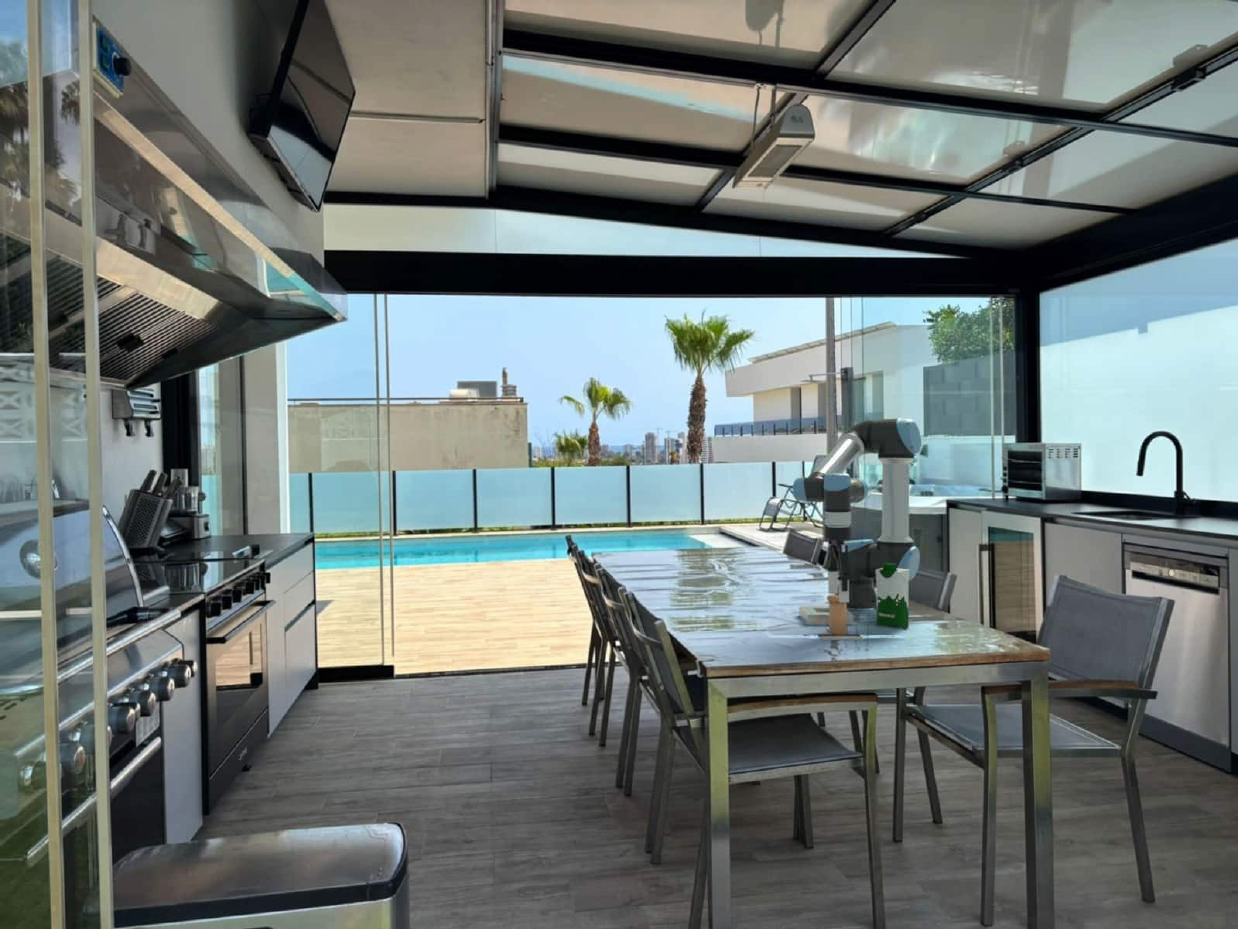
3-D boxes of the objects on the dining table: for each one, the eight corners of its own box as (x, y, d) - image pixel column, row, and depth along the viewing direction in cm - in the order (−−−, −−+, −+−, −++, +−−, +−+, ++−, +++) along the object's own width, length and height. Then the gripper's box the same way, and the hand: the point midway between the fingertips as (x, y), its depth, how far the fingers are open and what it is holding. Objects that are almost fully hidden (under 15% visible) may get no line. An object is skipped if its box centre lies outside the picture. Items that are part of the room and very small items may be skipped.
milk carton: (872, 628, 256) (872, 563, 255) (885, 623, 262) (885, 559, 262) (900, 632, 250) (900, 565, 249) (913, 627, 256) (912, 562, 256)
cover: (845, 631, 249) (845, 595, 249) (850, 636, 243) (850, 598, 243) (825, 631, 249) (825, 595, 249) (830, 636, 243) (829, 598, 243)
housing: (842, 618, 270) (842, 606, 270) (853, 627, 256) (853, 614, 256) (799, 618, 271) (799, 606, 271) (807, 627, 257) (807, 615, 257)
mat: (853, 630, 252) (853, 629, 252) (863, 640, 240) (863, 638, 240) (813, 630, 253) (813, 629, 253) (821, 640, 241) (821, 638, 241)
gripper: (816, 521, 258) (817, 589, 259) (834, 531, 233) (835, 606, 234) (840, 521, 258) (841, 589, 259) (861, 530, 233) (862, 605, 234)
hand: (838, 597), depth 246 cm, fingers open, 13 cm apart
